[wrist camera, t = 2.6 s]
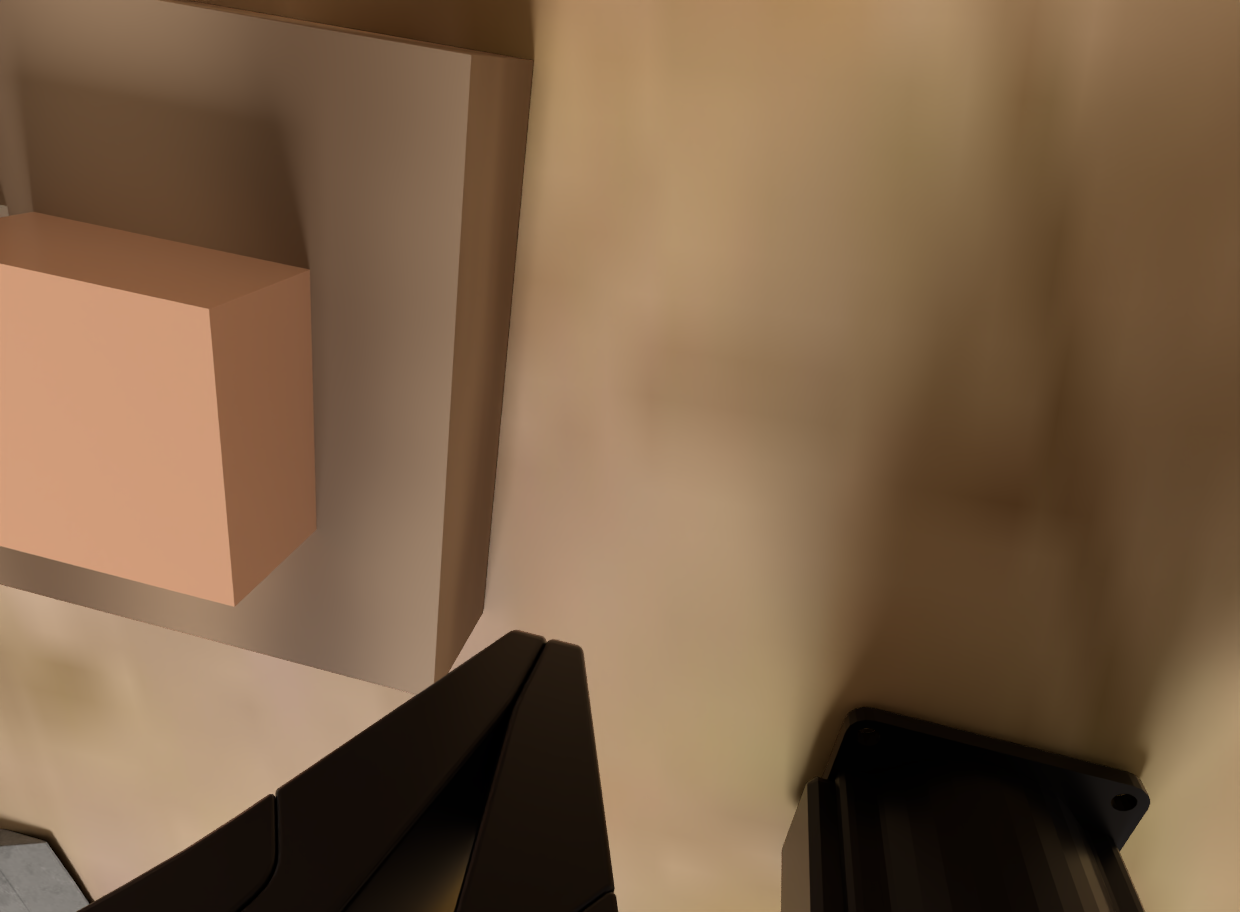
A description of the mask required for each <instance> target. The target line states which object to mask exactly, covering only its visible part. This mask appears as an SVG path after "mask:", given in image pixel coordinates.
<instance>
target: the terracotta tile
mask: <svg viewBox="0 0 1240 912" xmlns="http://www.w3.org/2000/svg"><path fill="white" fill-rule="evenodd" d="M316 529H317V524H316V486H315V448H314V409H313V371H312V333H311V295H310V270H309V269H304V268H300V267H295V266H290V265H285V264H281V263H276V262H271V261H266V260H261V259H257V258H252V257H247V256H242V255H238V254H233V253H228V252H223V251H218V250H214V249H209V248H204V247H199V246H195V245H190V244H185V243H180V242H175V241H171V240H166V239H161V238H156V237H152V236H147V235H142V234H137V233H132V232H128V231H123V230H118V229H113V228H109V227H104V226H99V225H94V224H89V223H85V222H80V221H75V220H70V219H66V218H61V217H56V216H51V215H46V214H42V213H37V212H29V213H24V214H18V215H12V216H6V217H0V546H2V547H6V548H10V549H14V550H17V551H21V552H25V553H29V554H33V555H37V556H41V557H44V558H48V559H52V560H56V561H60V562H64V563H67V564H71V565H75V566H79V567H83V568H87V569H91V570H94V571H98V572H102V573H106V574H110V575H114V576H118V577H121V578H125V579H129V580H133V581H137V582H141V583H144V584H148V585H152V586H156V587H160V588H164V589H168V590H171V591H175V592H179V593H183V594H187V595H191V596H194V597H198V598H202V599H206V600H210V601H214V602H218V603H221V604H225V605H229V606H233V607H235V606H236V605H237V604H238V603H239V602H240V601H241V600H242V599H244V598H245V597H246V596H247V595H248V594H249V593H250V592H251V591H252V590H253V589H254V588H255V587H256V586H257V585H258V584H259V583H260V582H261V581H263V580H264V579H265V578H266V577H267V576H268V575H269V574H270V573H271V572H272V571H273V570H274V569H275V568H276V567H277V566H278V565H279V564H281V563H282V562H283V561H284V560H285V559H286V558H287V557H288V556H289V555H290V554H291V553H292V552H293V551H294V550H295V549H296V548H297V547H298V546H300V545H301V544H302V543H303V542H304V541H305V540H306V539H307V538H308V537H309V536H310V535H311V534H312V533H313V532H314V531H315V530H316Z"/></svg>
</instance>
